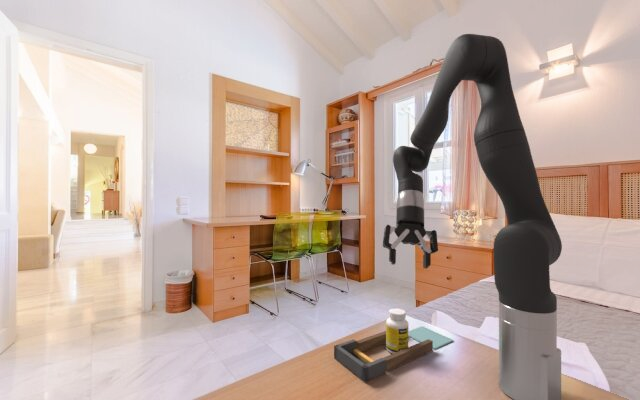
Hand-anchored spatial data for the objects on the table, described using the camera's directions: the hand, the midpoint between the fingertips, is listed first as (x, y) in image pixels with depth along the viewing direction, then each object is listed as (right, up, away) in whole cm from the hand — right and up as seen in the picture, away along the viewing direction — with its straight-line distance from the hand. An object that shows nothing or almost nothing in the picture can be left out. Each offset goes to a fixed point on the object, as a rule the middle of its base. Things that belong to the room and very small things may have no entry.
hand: (409, 266), depth 78 cm
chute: (-5, -20, -5) cm, 21 cm away
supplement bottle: (-4, -20, -4) cm, 21 cm away
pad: (+6, -20, +2) cm, 21 cm away
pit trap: (-15, -20, -11) cm, 27 cm away
